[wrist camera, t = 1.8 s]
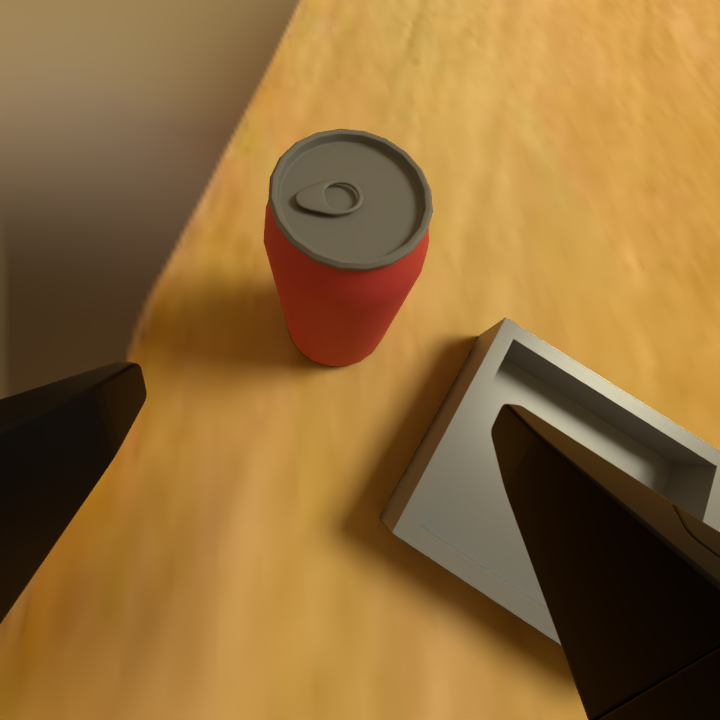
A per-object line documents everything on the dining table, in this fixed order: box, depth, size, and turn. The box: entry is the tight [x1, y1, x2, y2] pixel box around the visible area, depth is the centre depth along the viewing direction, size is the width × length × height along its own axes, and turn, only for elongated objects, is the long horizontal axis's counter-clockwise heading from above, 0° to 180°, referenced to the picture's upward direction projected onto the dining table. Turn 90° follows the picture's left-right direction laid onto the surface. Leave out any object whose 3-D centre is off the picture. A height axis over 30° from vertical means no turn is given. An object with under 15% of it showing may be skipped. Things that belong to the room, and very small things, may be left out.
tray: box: [380, 318, 720, 645], centre depth 19 cm, size 14×16×4 cm
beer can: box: [264, 129, 433, 366], centre depth 17 cm, size 7×7×12 cm
